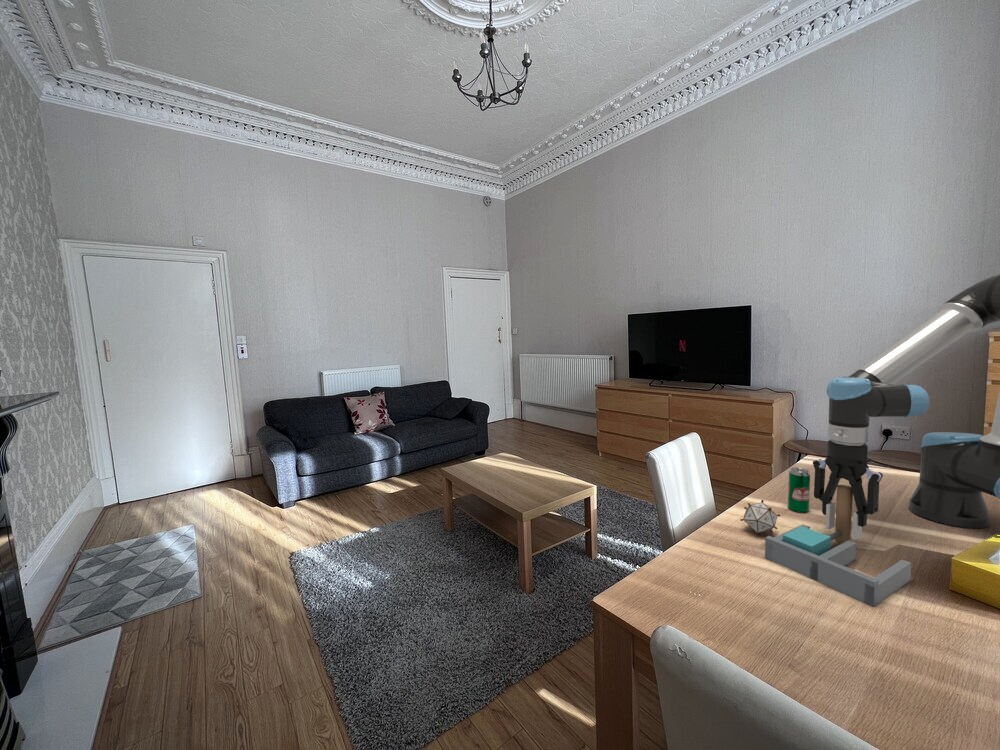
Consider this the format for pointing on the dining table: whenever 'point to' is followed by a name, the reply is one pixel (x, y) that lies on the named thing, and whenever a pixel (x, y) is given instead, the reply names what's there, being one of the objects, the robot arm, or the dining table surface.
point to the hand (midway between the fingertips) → (842, 532)
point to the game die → (760, 517)
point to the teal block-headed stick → (822, 542)
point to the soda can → (799, 489)
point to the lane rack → (838, 569)
